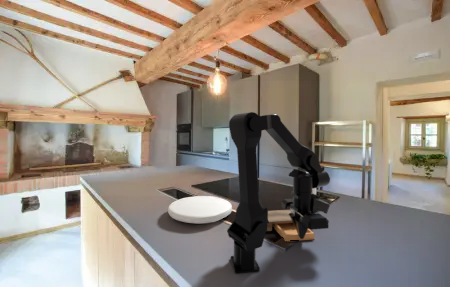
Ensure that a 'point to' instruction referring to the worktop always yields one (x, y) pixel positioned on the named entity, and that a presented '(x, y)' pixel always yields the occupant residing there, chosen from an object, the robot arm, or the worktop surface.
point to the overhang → (278, 218)
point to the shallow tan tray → (291, 232)
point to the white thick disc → (200, 209)
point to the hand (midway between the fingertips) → (301, 238)
